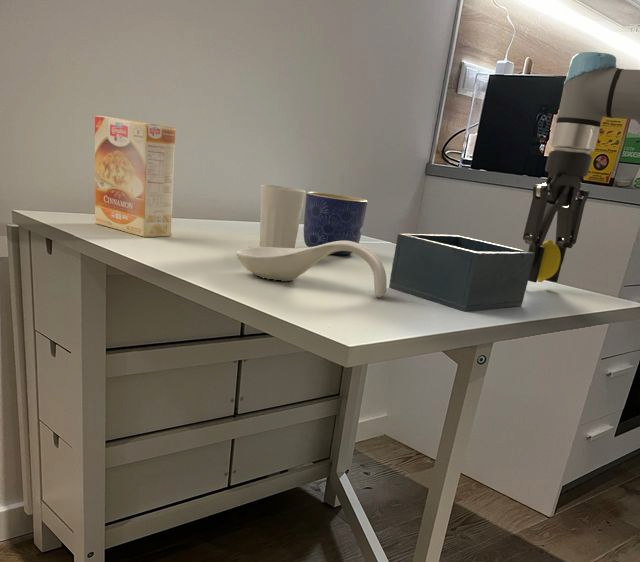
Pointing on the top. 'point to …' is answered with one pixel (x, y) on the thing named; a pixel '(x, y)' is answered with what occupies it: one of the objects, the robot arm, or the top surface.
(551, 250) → the lemon
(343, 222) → the planter
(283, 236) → the cup
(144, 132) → the coffeecake box
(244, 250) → the spoon rest
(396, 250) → the dark grey open box
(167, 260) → the top surface
